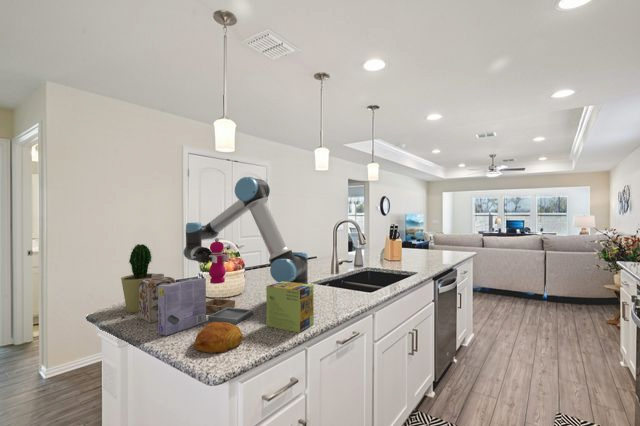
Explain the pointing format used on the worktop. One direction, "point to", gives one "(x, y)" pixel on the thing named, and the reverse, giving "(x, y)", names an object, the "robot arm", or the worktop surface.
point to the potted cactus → (136, 276)
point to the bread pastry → (218, 337)
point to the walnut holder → (219, 305)
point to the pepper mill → (217, 268)
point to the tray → (230, 315)
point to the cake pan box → (181, 305)
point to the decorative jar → (151, 296)
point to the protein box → (290, 306)
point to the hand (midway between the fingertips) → (222, 259)
